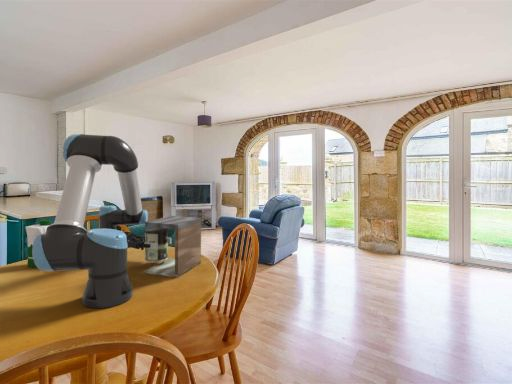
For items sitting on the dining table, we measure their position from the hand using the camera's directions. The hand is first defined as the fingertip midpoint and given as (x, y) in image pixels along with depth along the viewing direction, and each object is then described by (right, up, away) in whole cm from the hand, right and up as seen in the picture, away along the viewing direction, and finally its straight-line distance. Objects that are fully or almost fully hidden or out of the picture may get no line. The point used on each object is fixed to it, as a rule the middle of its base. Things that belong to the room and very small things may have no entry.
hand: (164, 243), depth 130 cm
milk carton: (-55, -9, -3) cm, 56 cm away
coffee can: (-4, -8, +2) cm, 9 cm away
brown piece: (+5, -11, -2) cm, 12 cm away
